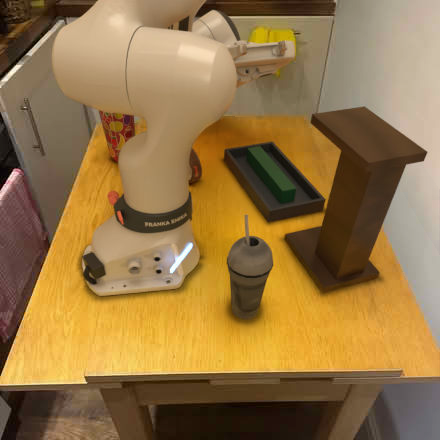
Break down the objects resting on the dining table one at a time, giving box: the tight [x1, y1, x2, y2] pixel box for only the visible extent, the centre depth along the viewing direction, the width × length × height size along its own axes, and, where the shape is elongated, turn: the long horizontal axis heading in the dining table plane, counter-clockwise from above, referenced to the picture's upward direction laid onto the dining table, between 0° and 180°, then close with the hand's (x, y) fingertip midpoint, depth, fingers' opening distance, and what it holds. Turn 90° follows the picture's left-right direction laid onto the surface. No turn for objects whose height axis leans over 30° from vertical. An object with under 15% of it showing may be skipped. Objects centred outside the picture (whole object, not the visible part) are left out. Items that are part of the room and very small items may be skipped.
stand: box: [284, 106, 429, 293], centre depth 72 cm, size 12×16×26 cm
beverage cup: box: [226, 214, 274, 320], centre depth 64 cm, size 7×7×20 cm
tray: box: [223, 141, 327, 223], centre depth 98 cm, size 14×28×3 cm, turn 20°
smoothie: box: [97, 110, 136, 163], centre depth 98 cm, size 8×8×20 cm
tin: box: [189, 147, 203, 184], centre depth 98 cm, size 15×3×8 cm, turn 34°
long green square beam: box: [247, 146, 296, 204], centre depth 97 cm, size 4×20×4 cm, turn 20°
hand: (264, 46), depth 85 cm, fingers open, 8 cm apart
